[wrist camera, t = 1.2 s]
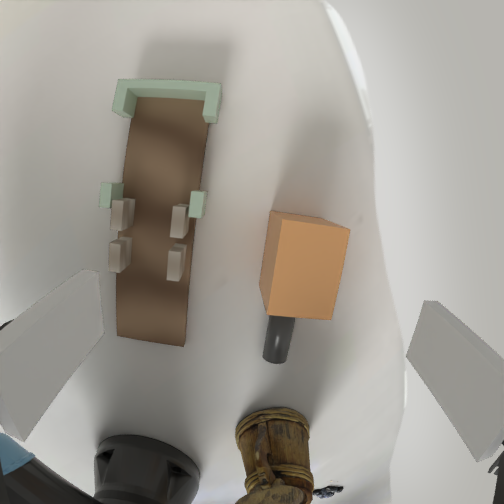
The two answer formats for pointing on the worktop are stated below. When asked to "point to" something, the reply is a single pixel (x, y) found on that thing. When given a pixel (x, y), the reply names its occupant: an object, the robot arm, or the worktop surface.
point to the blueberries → (327, 491)
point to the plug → (299, 275)
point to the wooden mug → (275, 457)
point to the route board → (157, 219)
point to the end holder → (163, 89)
